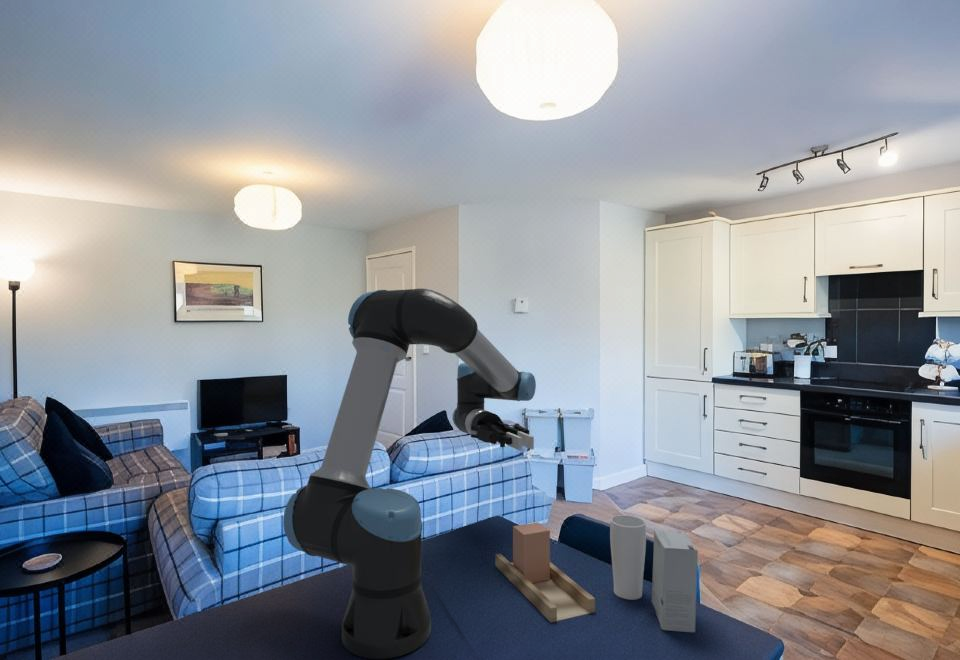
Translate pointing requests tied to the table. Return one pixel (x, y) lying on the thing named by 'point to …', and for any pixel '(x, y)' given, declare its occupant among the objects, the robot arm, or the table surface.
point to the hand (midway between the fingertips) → (526, 443)
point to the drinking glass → (628, 555)
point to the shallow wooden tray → (550, 592)
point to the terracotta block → (532, 551)
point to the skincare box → (674, 580)
